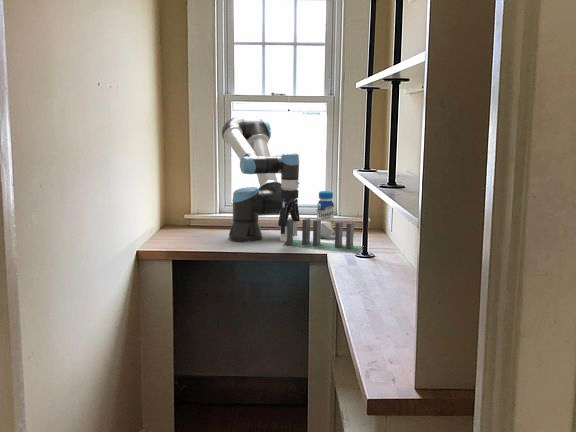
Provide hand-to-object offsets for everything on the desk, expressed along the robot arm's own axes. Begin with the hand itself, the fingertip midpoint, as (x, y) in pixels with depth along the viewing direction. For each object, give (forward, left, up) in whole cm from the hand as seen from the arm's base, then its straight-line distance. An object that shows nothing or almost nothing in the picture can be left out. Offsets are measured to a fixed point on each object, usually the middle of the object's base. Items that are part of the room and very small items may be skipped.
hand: (288, 238), depth 260 cm
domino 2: (+6, +6, -3) cm, 9 cm away
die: (+9, +22, -3) cm, 24 cm away
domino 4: (+21, +6, -3) cm, 22 cm away
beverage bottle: (+5, +35, -3) cm, 36 cm away
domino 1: (0, 0, -3) cm, 3 cm away
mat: (+15, +4, -3) cm, 16 cm away
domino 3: (+11, +6, -3) cm, 13 cm away
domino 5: (+26, +6, -3) cm, 27 cm away
